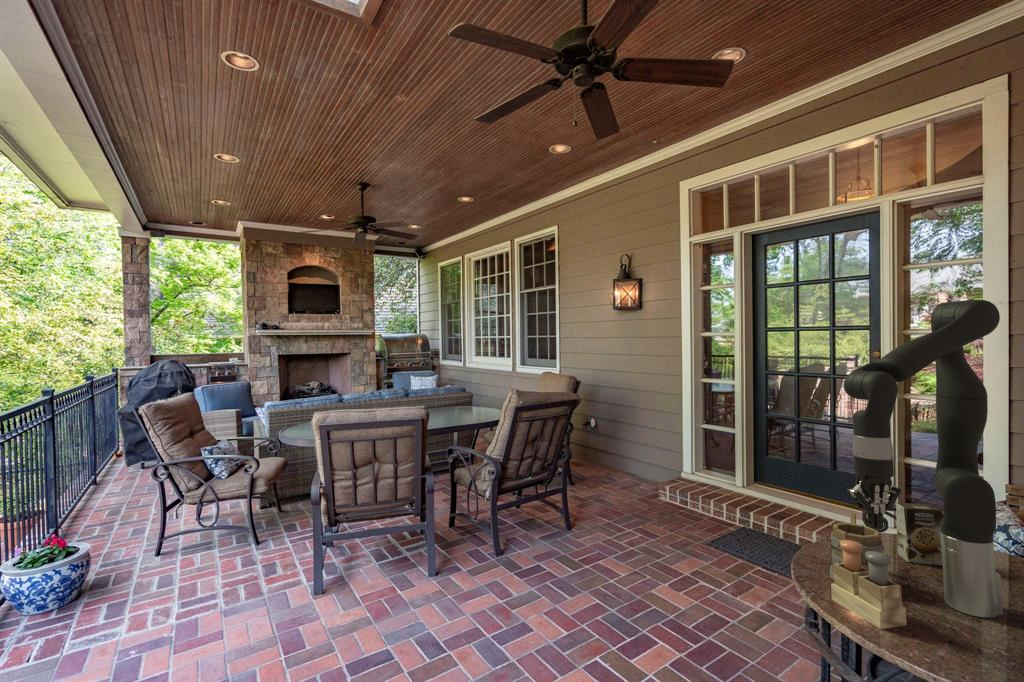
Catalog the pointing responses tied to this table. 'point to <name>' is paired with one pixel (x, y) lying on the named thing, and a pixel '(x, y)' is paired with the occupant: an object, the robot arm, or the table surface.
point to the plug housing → (868, 597)
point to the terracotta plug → (851, 555)
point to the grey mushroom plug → (878, 567)
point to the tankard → (854, 533)
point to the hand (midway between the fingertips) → (875, 528)
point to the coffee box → (919, 533)
